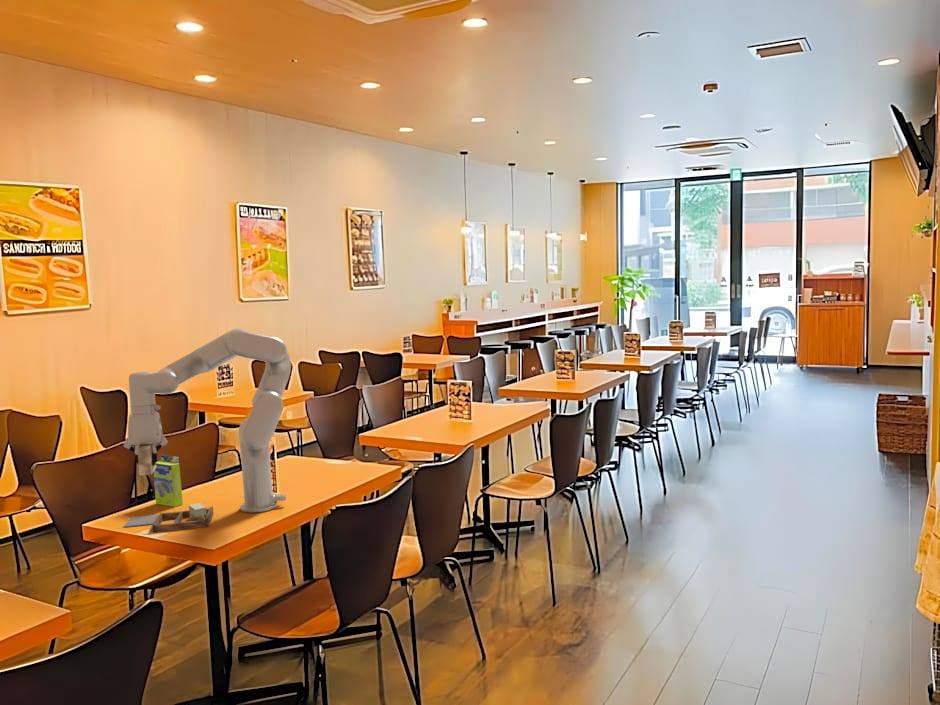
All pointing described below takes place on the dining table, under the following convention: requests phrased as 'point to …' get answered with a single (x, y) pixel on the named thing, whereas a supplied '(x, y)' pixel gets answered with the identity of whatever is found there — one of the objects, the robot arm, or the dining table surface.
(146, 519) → the mat
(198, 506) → the offcut top
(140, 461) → the beige rectangular block
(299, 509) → the dining table surface
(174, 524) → the rack
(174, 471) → the box
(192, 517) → the offcut low
